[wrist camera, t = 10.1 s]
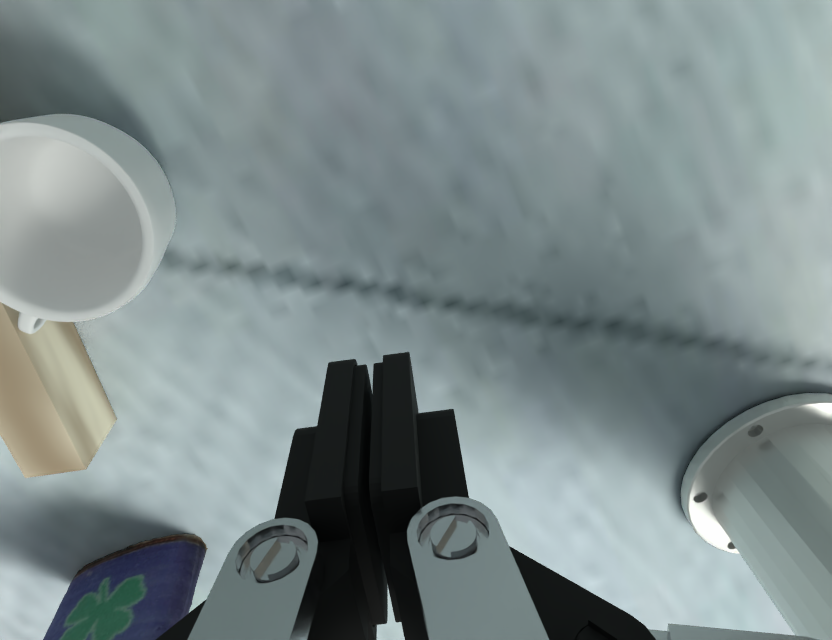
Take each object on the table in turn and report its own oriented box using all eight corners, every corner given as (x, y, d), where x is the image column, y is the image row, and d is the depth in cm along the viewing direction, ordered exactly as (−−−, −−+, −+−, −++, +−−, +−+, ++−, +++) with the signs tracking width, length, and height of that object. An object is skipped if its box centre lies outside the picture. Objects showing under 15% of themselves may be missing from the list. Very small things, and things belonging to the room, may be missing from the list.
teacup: (42, 63, 24) (-38, 76, 19) (220, 158, 26) (187, 191, 22) (-19, 260, 28) (-98, 312, 23) (142, 329, 30) (100, 390, 25)
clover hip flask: (89, 595, 39) (-1, 784, 29) (62, 567, 37) (-42, 755, 28) (216, 554, 38) (165, 735, 28) (193, 523, 37) (131, 702, 27)
